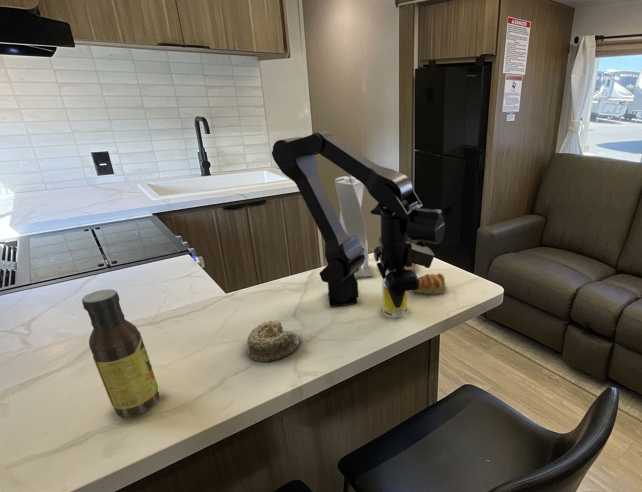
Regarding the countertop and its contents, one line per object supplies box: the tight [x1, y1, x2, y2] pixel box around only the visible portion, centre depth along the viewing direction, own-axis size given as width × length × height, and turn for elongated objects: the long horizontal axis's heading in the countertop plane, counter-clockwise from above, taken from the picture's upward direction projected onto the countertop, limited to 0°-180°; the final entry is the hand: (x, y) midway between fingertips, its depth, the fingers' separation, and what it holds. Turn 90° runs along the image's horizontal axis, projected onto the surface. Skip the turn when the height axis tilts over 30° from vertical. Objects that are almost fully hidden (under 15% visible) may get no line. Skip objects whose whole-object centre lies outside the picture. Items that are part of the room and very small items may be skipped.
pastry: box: [411, 272, 447, 295], centre depth 102 cm, size 9×7×4 cm
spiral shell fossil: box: [246, 320, 300, 362], centre depth 78 cm, size 10×10×5 cm
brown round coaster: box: [404, 263, 417, 273], centre depth 113 cm, size 10×10×1 cm
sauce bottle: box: [81, 288, 160, 418], centre depth 60 cm, size 6×6×20 cm
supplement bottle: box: [381, 270, 408, 319], centre depth 90 cm, size 6×6×10 cm
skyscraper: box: [334, 174, 374, 280], centre depth 104 cm, size 8×8×28 cm
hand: (394, 300), depth 90 cm, fingers closed on supplement bottle, 5 cm apart
